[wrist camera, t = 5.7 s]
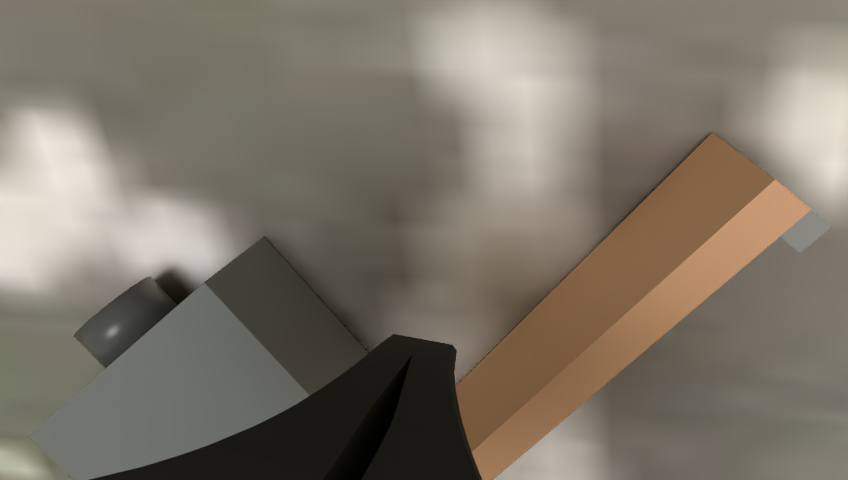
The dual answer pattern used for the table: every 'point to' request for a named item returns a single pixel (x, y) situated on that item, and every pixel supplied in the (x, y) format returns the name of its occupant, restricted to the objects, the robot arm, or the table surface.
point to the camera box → (196, 366)
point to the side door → (627, 297)
